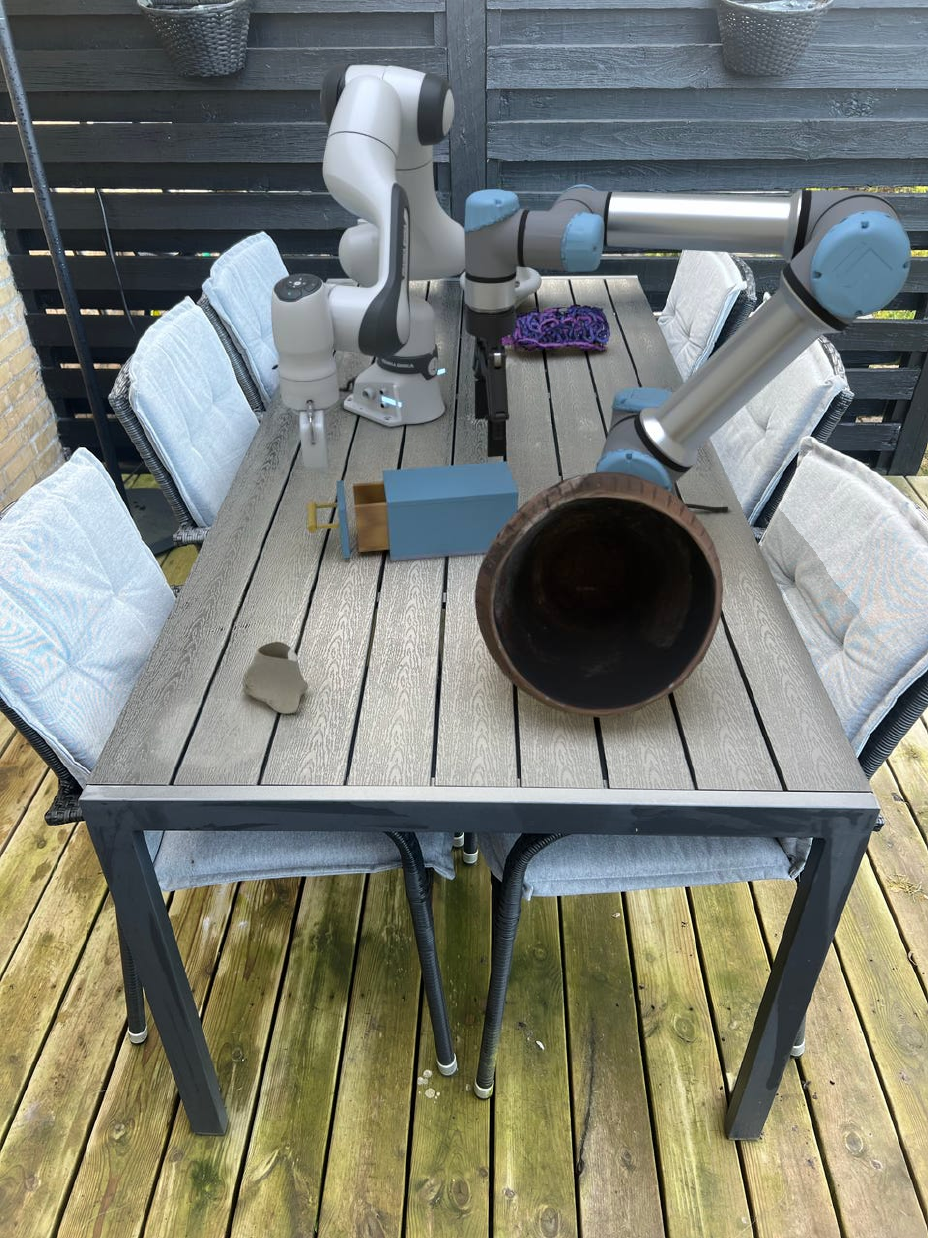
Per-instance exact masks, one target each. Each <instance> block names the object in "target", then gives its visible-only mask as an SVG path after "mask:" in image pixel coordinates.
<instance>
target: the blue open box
mask: <svg viewBox="0 0 928 1238" xmlns="http://www.w3.org/2000/svg"><path fill="white" fill-rule="evenodd" d="M382 482H384V489H385V496H386V503H387V516H388V530H389V544H390V549H388V550H389V557H390V562H396V561H397V562H398V561H399V562H400V561H409V560H410V561H411V560H421V559H432V558H433V559H434V558H446V557H456V556H468V555H481V554H486V553H487V551H488V549H489V547H490V545H491V543H492V541H493V540H494V538H495V536H496V535H497V534H498V533H499V532H500V530H501V529H502V527H503V526H504V525H505V524H506V523H507V522H508V521H509V520H510V519H511V517H512V516H513V515H514V514H515V513H516V512H517V511H518V510H519V490H518V488H517V485H516V482H515V479H514V477H513V474H512V471H511V469H510V466H509V463H508V461H506V460H505V461H494V462H479V463H467V464H454V465H453V464H452V465H440V466H428V467H413V468H399V469H387V470H382Z"/></svg>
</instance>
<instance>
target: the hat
mask: <svg viewBox="0 0 928 1238" xmlns="http://www.w3.org/2000/svg"><path fill="white" fill-rule="evenodd" d="M539 273H540V272H538V271H537V270H535V268H528V267H517V276H516V281H519V282H520V286H519V287H518V288H515V291H516V301H515V303H514V307H515V308H516V309H517V308H518V307H519V306H520V305H522V303H524V302H525V301H526V300H527V299H528V297H529V296H531V295H533V294H535V293H536V292H538V291H539V290H540V288H541V286H542V282H543V280H542V276H541V274H539ZM459 287H461V289H462V290H463V292H465V271H463V272H462V273H461V274H460V277H459Z"/></svg>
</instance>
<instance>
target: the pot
mask: <svg viewBox="0 0 928 1238" xmlns="http://www.w3.org/2000/svg"><path fill="white" fill-rule="evenodd" d="M684 503H685V502H683V501H682V500H681V499H680V498H679V496H677V497H676V496H675V495H674V494H672V493H671V492H669V491H668V490H666V489H665V488H663V487H661V486H659V485H657V484H655V483H654V482H651V481H649V480H646V479H644V478H641V477H639V476H636V475H633V474H627V473H621V472H605V471H600V472H596V471H594V472H589V473H584V474H579V475H575V476H573V477H568V478H566V479H563V480H561V481H559V482H556V484H553V485H552V486H549V487H548V488H546V489H544V490H542V491H540V492H538V493H537V494H536V495H534V496H533V497H531V498H530V499H528V500H527V501H526V502H525V503H523V505H521V506H520V507H518V511H517V512H516V513H515V514H514V515H513V516H512V517H511V519H510V520H509V521H508V522H507V523H506V524H505V525H504V526H503V527H502V529H501V530H500V532H499V533H498V534H497V535H496V536H495V538H494V540H493V541H492V543H491V545H490V547H489V549H488V551H487V553H485V554H484V557H483V559H482V562H481V564H480V567H479V569H478V574H477V578H476V582H475V588H474V606H475V616H476V617H475V618H476V621H477V625H478V629H479V631H480V634H481V637H482V639H483V641H484V644H485V646H486V648H487V650H488V653H489V654H490V656H491V658H492V661H494V663H495V665H497V667H498V669H499V670H500V672H501V673H502V675H503V676H505V677H506V678H507V679H508V680H509V681H510V682H511V683H512V684H513V685H515V686H516V687H517V689H519V690H520V691H522V692H523V693H524V694H526V695H527V696H528V697H530V698H532V699H533V700H535V701H536V702H538V703H540V704H542V705H545V706H546V707H548V708H551V709H553V710H555V711H559V712H561V713H566V714H567V713H568V714H571V715H577V716H582V717H589V718H606V717H615V716H616V717H617V716H621V715H623V714H628V713H630V712H635V711H639V710H642V709H644V708H646V707H648V706H650V705H652V704H654V703H657V702H658V701H660V700H662V699H664V698H666V697H667V696H668V695H669V694H671V693H673V692H674V691H676V690H677V689H679V687H681V686H682V685H683V684H684V683H685V681H686V680H688V679H689V678H690V677H691V675H692V674H693V672H694V671H695V669H697V667H698V666H699V665H700V664H702V662H703V661H704V659H705V657H706V655H707V653H708V651H709V649H710V647H711V645H712V643H713V640H714V636H715V634H716V631H717V628H718V626H719V623H720V619H721V615H722V610H723V601H724V600H723V599H724V598H723V597H724V584H723V583H724V582H723V571H722V567H721V562H720V559H719V556H718V553H717V549H716V546H715V543H714V541H713V539H712V538H711V536H710V534H709V533H708V531H707V529H706V527H705V526H704V525H703V523H702V522H701V520H700V519H699V518H698V516H697V515H696V514H695V513H694V512H693V511H692V510H691V508H688V507H687V506H686V505H685V504H684Z"/></svg>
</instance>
